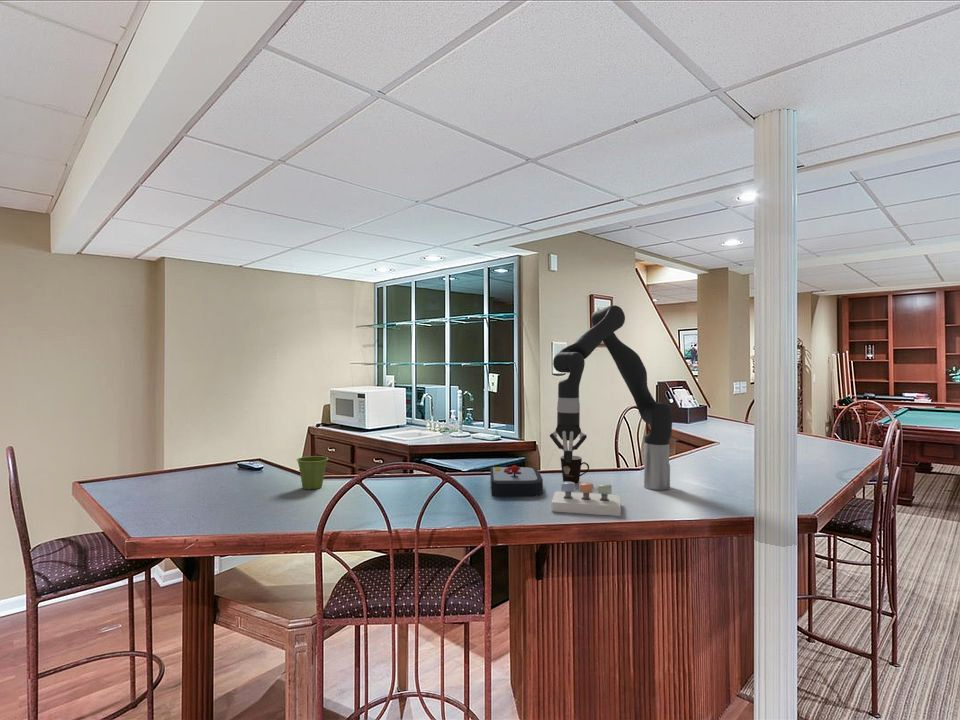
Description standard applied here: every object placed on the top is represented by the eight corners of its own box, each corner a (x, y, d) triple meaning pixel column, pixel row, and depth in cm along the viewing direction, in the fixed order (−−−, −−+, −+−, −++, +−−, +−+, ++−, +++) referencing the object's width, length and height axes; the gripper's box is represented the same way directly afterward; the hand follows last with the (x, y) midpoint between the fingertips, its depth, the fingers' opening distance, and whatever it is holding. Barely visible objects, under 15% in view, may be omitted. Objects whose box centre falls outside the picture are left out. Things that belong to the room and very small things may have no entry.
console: (619, 503, 182) (619, 495, 182) (620, 515, 168) (620, 506, 168) (555, 499, 187) (555, 491, 187) (551, 511, 173) (551, 502, 173)
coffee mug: (556, 480, 215) (556, 456, 215) (573, 478, 219) (573, 454, 219) (572, 487, 205) (572, 461, 205) (590, 484, 208) (590, 459, 208)
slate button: (575, 498, 180) (575, 481, 180) (574, 501, 176) (574, 485, 176) (561, 497, 182) (561, 481, 181) (560, 501, 177) (560, 484, 177)
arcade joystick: (545, 498, 191) (545, 470, 190) (491, 498, 191) (491, 470, 191) (536, 479, 219) (536, 455, 219) (490, 479, 219) (490, 455, 219)
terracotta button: (593, 499, 179) (593, 482, 179) (593, 503, 175) (593, 486, 175) (579, 498, 180) (579, 482, 180) (578, 502, 176) (579, 485, 176)
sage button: (611, 500, 178) (611, 483, 178) (611, 504, 173) (611, 487, 173) (597, 499, 179) (597, 483, 179) (597, 503, 174) (597, 486, 174)
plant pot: (323, 491, 198) (323, 461, 197) (291, 491, 198) (291, 461, 198) (332, 484, 209) (332, 455, 209) (303, 483, 210) (302, 455, 210)
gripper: (588, 410, 181) (588, 460, 181) (549, 409, 184) (549, 458, 184) (588, 412, 173) (587, 464, 174) (547, 411, 176) (547, 462, 177)
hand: (568, 461), depth 179 cm, fingers closed
